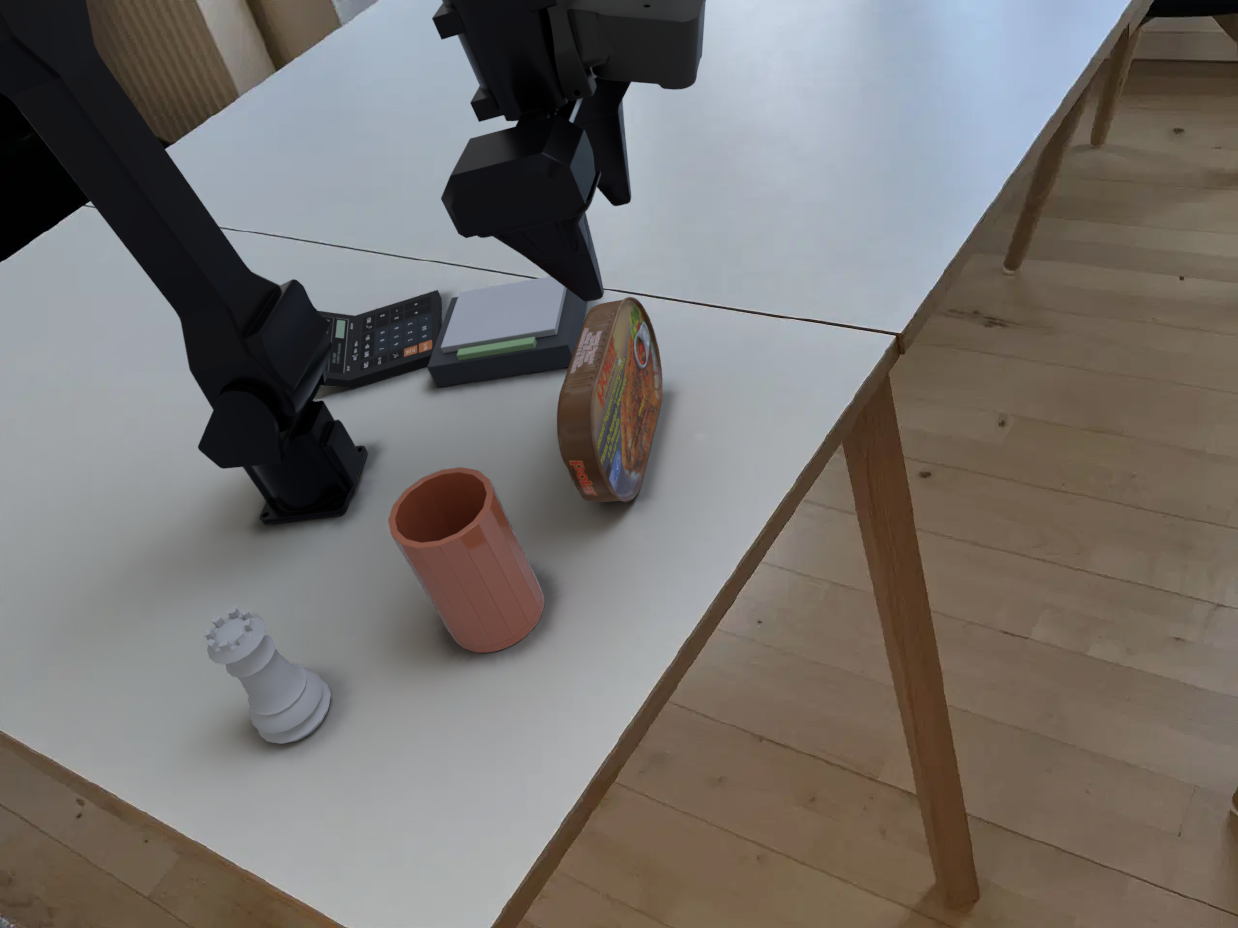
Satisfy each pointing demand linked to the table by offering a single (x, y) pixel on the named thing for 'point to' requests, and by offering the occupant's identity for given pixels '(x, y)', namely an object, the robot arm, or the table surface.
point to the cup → (467, 559)
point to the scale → (507, 332)
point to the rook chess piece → (268, 678)
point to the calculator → (382, 341)
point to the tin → (610, 402)
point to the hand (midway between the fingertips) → (609, 248)
